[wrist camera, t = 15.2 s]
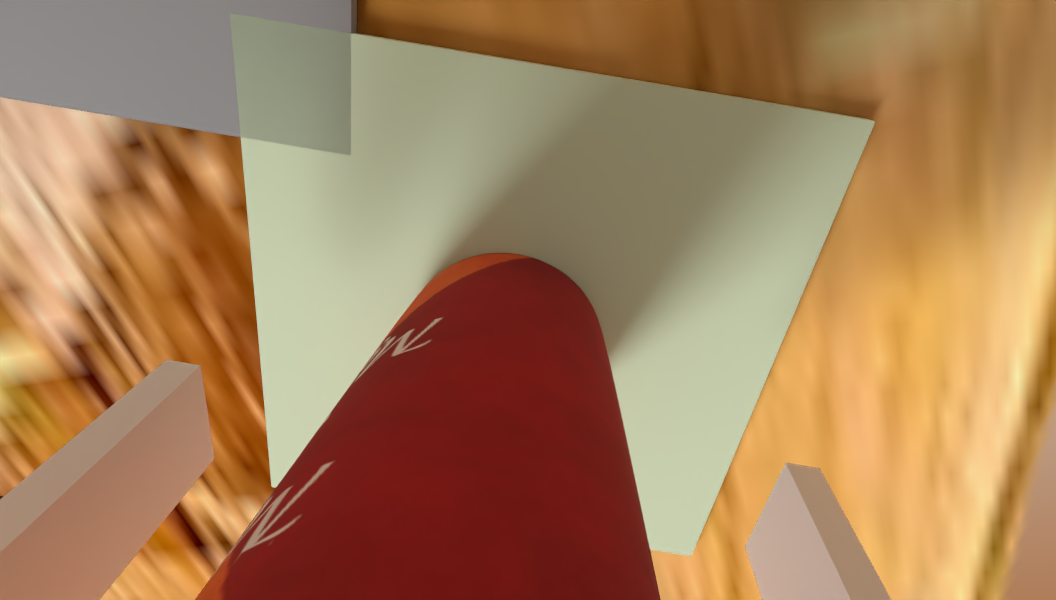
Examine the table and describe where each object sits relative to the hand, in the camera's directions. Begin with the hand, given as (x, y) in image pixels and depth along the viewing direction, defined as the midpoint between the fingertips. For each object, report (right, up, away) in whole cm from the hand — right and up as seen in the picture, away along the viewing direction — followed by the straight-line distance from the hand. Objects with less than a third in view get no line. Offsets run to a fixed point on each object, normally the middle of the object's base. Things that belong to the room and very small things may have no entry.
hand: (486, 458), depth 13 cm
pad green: (0, +3, +5) cm, 6 cm away
